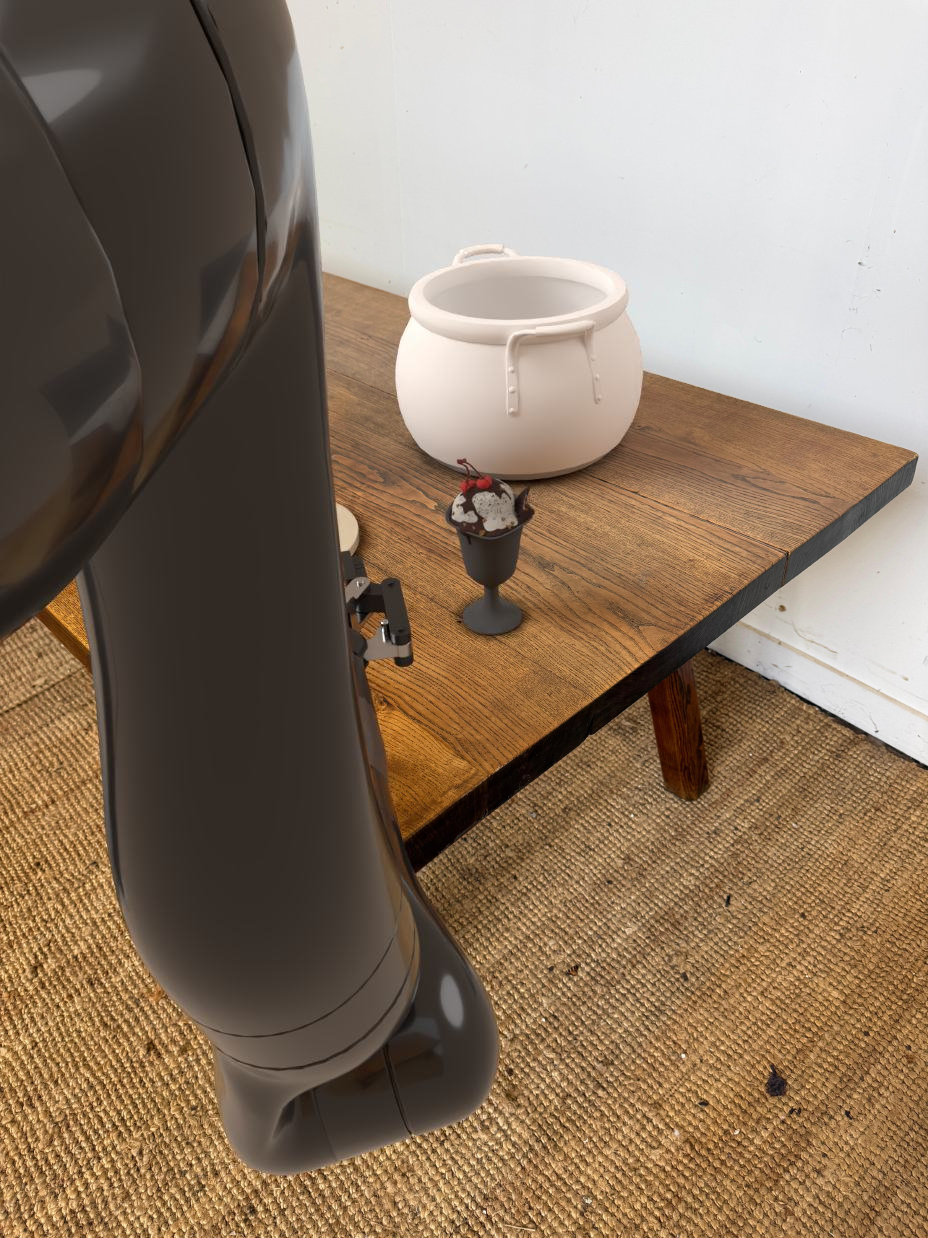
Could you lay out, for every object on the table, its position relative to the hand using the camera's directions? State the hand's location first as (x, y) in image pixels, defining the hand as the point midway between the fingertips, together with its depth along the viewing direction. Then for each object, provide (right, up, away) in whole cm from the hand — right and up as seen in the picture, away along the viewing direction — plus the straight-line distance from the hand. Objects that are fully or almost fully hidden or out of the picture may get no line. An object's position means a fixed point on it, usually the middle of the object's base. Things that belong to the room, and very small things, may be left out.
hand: (281, 572), depth 58 cm
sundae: (+14, -3, +15) cm, 21 cm away
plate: (-5, +4, +25) cm, 26 cm away
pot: (+18, +17, +41) cm, 48 cm away
